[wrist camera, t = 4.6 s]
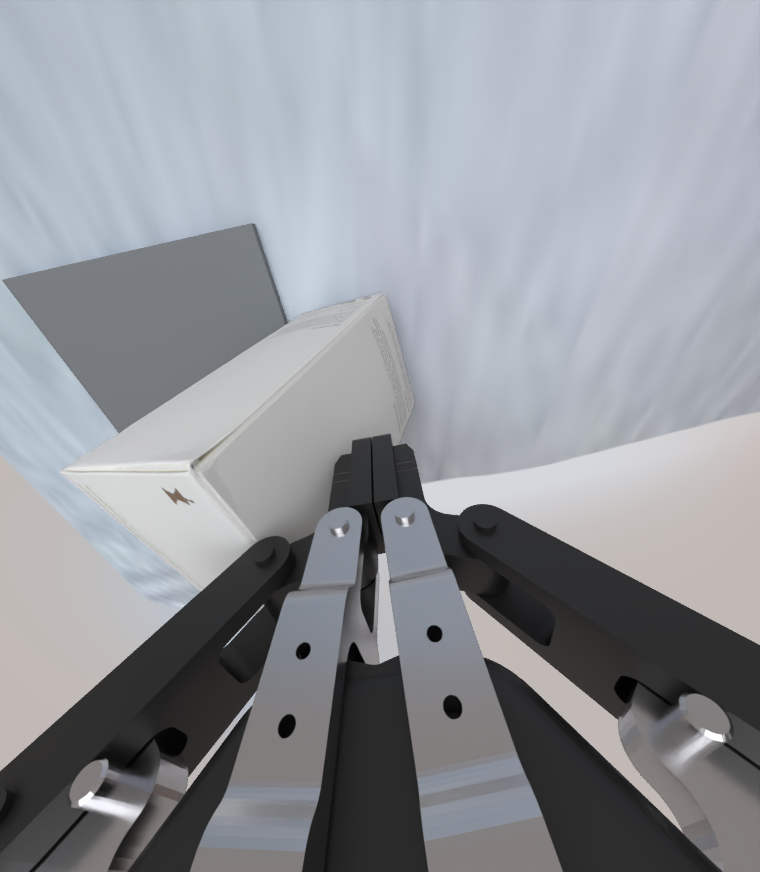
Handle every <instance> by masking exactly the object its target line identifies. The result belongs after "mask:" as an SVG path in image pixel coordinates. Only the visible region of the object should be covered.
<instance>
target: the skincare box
mask: <svg viewBox="0 0 760 872" xmlns="http://www.w3.org/2000/svg"><path fill="white" fill-rule="evenodd" d="M414 404H415V403H414V399H413V395H412V391H411V387H410V383H409V379H408V376H407V372H406V368H405V364H404V360H403V356H402V353H401V349H400V345H399V341H398V337H397V333H396V330H395V326H394V322H393V318H392V314H391V311H390V307H389V304H388V300H387V297H386V295H385V294H384V293H380V294H375V295H371V296H367V297H363V298H359V299H355V300H351V301H347V302H343V303H340V304H336V305H332V306H328V307H325V308H321V309H317V310H314V311H310V312H307V313H303V314H301V315H300V316H298V317H297V318H295V319H294V320H292V321H291V322H289V323H288V324H286V325H285V326H283V327H282V328H280V329H278V330H277V331H275V332H274V333H272V334H271V335H269V336H268V337H266V338H264V339H263V340H261V341H260V342H258V343H257V344H255V345H253V346H252V347H250V348H249V349H247V350H246V351H244V352H243V353H241V354H240V355H238V356H237V357H235V358H233V359H232V360H230V361H229V362H227V363H226V364H224V365H223V366H221V367H220V368H218V369H217V370H215V371H214V372H212V373H210V374H209V375H207V376H206V377H204V378H203V379H201V380H200V381H198V382H197V383H195V384H193V385H192V386H191V387H189V388H187V389H186V390H184V391H183V392H181V393H180V394H178V395H177V396H175V397H174V398H172V399H171V400H169V401H167V402H166V403H164V404H163V405H161V406H160V407H158V408H157V409H155V410H154V411H152V412H150V413H149V414H147V415H146V416H144V417H143V418H141V419H140V420H138V421H136V422H135V423H133V424H132V425H130V426H129V427H127V428H126V429H125V430H123V431H122V432H120V433H119V434H117V435H115V436H114V437H112V438H110V439H109V440H107V441H106V442H104V443H103V444H101V445H100V446H98V447H97V448H95V449H94V450H92V451H90V452H89V453H87V454H86V455H84V456H83V457H81V458H80V459H78V460H77V461H75V462H74V463H72V464H71V465H69V466H68V467H66V468H64V469H63V470H61V471H60V473H61V474H62V475H64V476H65V477H66V478H67V479H68V480H69V481H71V482H72V483H73V484H74V485H75V486H76V487H78V488H79V489H80V490H81V491H82V492H84V493H85V494H86V495H87V496H88V497H89V498H91V499H92V500H93V501H94V502H95V503H97V504H98V505H99V506H100V507H101V508H103V509H104V510H105V511H106V512H107V513H108V514H110V515H111V516H112V517H113V518H114V519H116V520H117V521H118V522H119V523H120V524H122V525H123V526H124V527H125V528H126V529H127V530H129V531H130V532H131V533H132V534H133V535H135V536H136V537H137V538H138V539H139V540H141V541H142V542H143V543H144V544H145V545H147V546H148V547H149V548H150V549H151V550H153V551H154V552H155V553H156V554H157V555H158V556H160V557H161V558H162V559H163V560H164V561H165V562H167V563H168V564H169V565H170V566H171V567H173V568H174V569H175V570H176V571H177V572H178V573H180V574H181V575H182V576H183V577H184V578H185V579H187V580H188V581H189V582H190V583H191V584H192V585H193V586H194V587H196V588H197V589H198V590H199V591H200V592H201V591H202V590H203V589H204V588H205V587H207V586H208V585H209V584H210V583H211V582H212V581H213V580H214V579H216V578H217V577H218V576H219V575H220V574H221V573H222V572H223V571H224V570H226V569H227V568H228V567H229V566H230V565H231V564H232V563H233V562H235V561H236V560H237V559H238V558H239V557H240V556H241V555H242V554H243V553H245V552H246V551H247V550H248V549H249V548H250V547H251V546H252V545H254V544H255V543H257V542H258V541H260V540H262V539H264V538H267V537H270V536H280V537H283V538H285V539H286V540H287V541H288V543H289V544H291V543H293V542H295V541H298V540H300V539H302V538H304V537H307V536H309V535H311V534H312V533H314V532H315V530H316V526H317V524H318V522H319V520H320V519H321V518H322V517H323V516H324V515H325V514H326V513H328V508H329V501H330V494H331V487H332V484H333V483H332V480H333V476H334V474H333V473H334V466H335V463H336V462H337V460H338V459H339V458H340V456H341V455H345V454H350V453H351V451H352V441H353V440H357V439H362V438H368V437H371V438H372V437H373V436H379V435H385V434H391V438H392V443H393V446H396V445H399V443H400V440H401V438H402V435H403V433H404V430H405V427H406V425H407V422H408V420H409V417H410V414H411V412H412V409H413V407H414ZM263 607H264V604H263V605H262V606H261V607H260V608H259V610H258V611H257V612H259V611H260V610H261V609H262V608H263Z"/></svg>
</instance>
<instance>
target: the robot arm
mask: <svg viewBox="0 0 760 872" xmlns="http://www.w3.org/2000/svg"><path fill="white" fill-rule="evenodd" d="M333 474H334V476H333V480H332V483H333V484H332V487H331V494H330V501H329V508H328V513H326V514H325V515H324V516H323V517H322V518H321V519H320V520H319V522H318V524H317V526H316V530H315V532H314V533H312V534H311V535H309V536H307V537H304V538H302V539H300V540H298V541H295V542H293V543H291V544H289V543H288V541H287V540H286V539H285V538H283V537H280V536H270V537H267V538H264V539H262V540H260V541H258V542H257V543H255V544H254V545H252V546H251V547H250V548H249V549H248V550H247V551H246V552H245V553H243V554H242V555H241V556H240V557H239V558H238V559H237V560H236V561H235V562H233V563H232V564H231V565H230V566H229V567H228V568H227V569H226V570H224V571H223V572H222V573H221V574H220V575H219V576H218V577H217V578H216V579H214V580H213V581H212V582H211V583H210V584H209V585H208V586H207V587H205V588H204V589H203V590H202V591H201V592H200V593H199V594H198V595H197V596H195V597H194V598H193V599H192V600H191V601H190V602H189V603H188V604H187V605H185V606H184V607H183V608H182V609H181V610H180V611H179V612H178V613H176V614H175V615H174V616H173V617H172V618H171V619H170V620H169V621H168V622H166V623H165V624H164V625H163V626H162V627H161V628H160V629H159V630H158V631H156V632H155V633H154V634H153V635H152V636H151V637H150V638H149V639H148V640H146V641H145V642H144V643H143V644H142V645H141V646H140V647H139V648H137V649H136V650H135V651H134V652H133V653H132V654H131V655H130V656H128V657H127V658H126V659H125V660H124V661H123V662H122V663H121V664H120V665H119V666H117V667H116V668H115V669H114V670H113V671H112V672H111V673H110V674H108V675H107V676H106V677H105V678H104V679H103V680H102V681H101V682H99V684H98V685H96V686H95V687H94V688H93V689H92V690H91V691H90V692H88V693H87V694H86V695H85V696H84V697H83V698H82V699H81V700H80V701H78V702H77V703H76V704H75V705H74V706H73V707H72V708H70V709H69V710H68V711H67V712H66V713H65V714H64V715H63V716H62V717H61V718H59V719H58V720H57V721H56V722H55V723H54V724H53V725H52V726H51V727H49V728H48V729H47V730H46V731H45V732H44V733H43V734H41V735H40V736H39V737H38V738H37V739H36V740H35V741H34V742H33V743H31V744H30V745H29V746H28V747H27V748H26V749H25V750H24V751H22V752H21V753H20V754H19V755H18V756H17V757H16V758H15V759H14V760H12V761H11V762H10V763H9V764H8V765H7V766H6V767H5V768H4V769H2V770H1V771H0V872H760V645H758V644H756V643H755V642H753V641H751V640H749V639H747V638H745V637H743V636H741V635H739V634H737V633H736V632H733V631H732V630H730V629H728V628H726V627H724V626H722V625H720V624H718V623H716V622H715V621H713V620H711V619H709V618H707V617H705V616H703V615H701V614H699V613H698V612H696V611H694V610H692V609H690V608H688V607H686V606H684V605H682V604H680V603H679V602H677V601H674V600H673V599H671V598H669V597H667V596H665V595H663V594H661V593H660V592H658V591H656V590H654V589H652V588H650V587H648V586H646V585H644V584H642V583H641V582H639V581H637V580H635V579H633V578H631V577H629V576H627V575H625V574H623V573H621V572H620V571H618V570H615V569H614V568H612V567H610V566H608V565H606V564H604V563H603V562H601V561H599V560H597V559H595V558H593V557H591V556H589V555H587V554H585V553H583V552H582V551H580V550H578V549H576V548H574V547H572V546H570V545H568V544H566V543H565V542H563V541H561V540H559V539H557V538H555V537H553V536H551V535H549V534H547V533H546V532H544V531H541V530H540V529H538V528H536V527H534V526H532V525H530V524H528V523H527V522H525V521H523V520H521V519H519V518H517V517H515V516H513V515H511V514H509V513H508V512H506V511H504V510H502V509H500V508H497V507H495V506H492V505H486V504H478V505H473V506H471V507H468V508H466V509H465V510H464V511H463V512H462V513H461V514H460V516H459V515H450V514H443V513H440V512H438V511H435V510H434V509H432V508H431V507H430V506H429V505H428V504H427V503H426V501H425V499H424V495H423V491H422V486H421V482H420V477H419V473H418V469H417V464H416V460H415V456H414V451H413V450H412V449H411V448H410V447H409V446H408V445H407V444H402V445H396V446H393V443H392V438H391V434H385V435H379V436H373V437H372V438H371V437H368V438H362V439H357V440H353V441H352V451H351V453H350V454H345V455H341V456H340V458H339V459H338V460H337V462H336V463H335V466H334V473H333ZM385 549H386V552H385ZM382 553H386V555H387V562H388V569H389V575H390V580H389V588H390V596H391V603H392V609H393V616H394V623H395V630H396V637H397V644H398V651H399V656H397V657H394V658H392V659H390V660H388V661H385V662H383V663H381V664H380V663H379V653H378V645H377V625H378V600H379V572H378V554H382ZM460 590H461V591H465V593H466V595H467V596H468V597H469V598H470V599H471V600H472V601H474V602H475V603H476V604H477V605H478V606H480V607H481V608H482V609H483V610H485V611H486V612H487V613H488V614H490V615H491V616H492V617H493V618H495V619H496V620H497V621H498V622H499V623H500V624H502V625H503V626H504V627H505V628H507V629H508V630H509V631H510V632H511V633H513V634H514V635H515V636H516V637H518V638H519V639H520V640H521V641H522V642H524V643H525V644H526V645H527V646H529V647H530V648H531V649H533V651H535V652H536V653H537V654H538V655H540V656H541V657H542V658H543V659H544V660H546V661H547V662H548V663H550V665H552V666H553V667H554V668H555V669H557V670H558V671H559V672H560V673H562V674H563V675H564V676H565V677H566V678H568V679H569V680H570V681H571V682H572V683H574V684H575V685H576V686H577V687H579V688H580V689H581V690H582V691H584V692H585V693H586V694H587V695H589V696H590V697H591V698H592V699H593V700H595V701H596V702H597V703H598V704H599V705H601V706H602V707H603V708H604V709H605V710H607V711H608V712H609V713H610V714H612V715H613V716H614V717H615V718H617V719H618V729H619V735H620V739H621V742H622V745H623V747H624V750H625V752H626V754H627V756H628V757H629V759H630V761H631V762H632V764H633V765H634V767H635V768H636V770H637V771H638V772H639V773H640V775H641V776H642V777H643V778H644V779H645V780H646V781H647V782H648V783H649V784H650V785H651V787H652V788H653V789H654V790H655V791H656V792H657V793H658V794H659V795H660V796H661V798H662V799H663V800H664V802H665V803H666V804H667V805H668V807H669V808H670V810H671V811H672V813H673V814H674V816H675V818H676V820H677V821H678V823H679V825H680V827H681V829H682V831H683V833H682V832H681V831H680V830H679V829H678V828H677V827H676V826H675V825H674V824H673V823H672V822H671V821H669V819H668V818H666V817H665V816H664V815H663V814H662V813H661V812H660V811H659V810H658V809H657V808H656V807H655V806H654V805H653V804H652V803H651V802H649V800H648V799H647V798H646V797H645V796H643V795H642V794H641V793H640V792H639V791H638V790H637V789H636V788H635V787H634V786H633V785H632V784H631V783H630V782H629V781H628V780H627V779H626V778H625V777H624V776H623V775H622V774H621V773H619V771H617V770H616V769H615V768H614V767H613V766H612V765H611V764H610V763H609V762H608V761H607V760H606V759H605V758H604V757H603V756H602V755H601V754H600V753H599V752H598V751H597V750H596V749H595V748H594V747H593V746H591V745H590V744H589V743H588V742H587V741H586V740H585V739H584V738H583V737H582V736H581V735H580V734H579V733H578V732H577V731H576V730H575V729H574V728H573V727H572V726H571V725H570V724H569V723H568V722H567V721H565V720H564V719H563V718H562V717H561V716H560V715H559V714H558V713H557V712H556V711H555V710H554V709H553V708H552V707H551V706H550V705H549V704H548V703H547V702H546V701H545V700H544V699H543V698H542V697H541V696H539V695H538V694H537V693H536V692H535V691H534V690H533V689H532V688H531V687H530V686H529V685H528V684H527V683H526V682H524V681H523V680H522V679H521V678H519V677H518V676H517V675H516V674H514V673H513V672H511V671H510V670H508V669H507V668H505V667H503V666H502V665H500V664H498V663H496V662H494V661H492V660H489V659H487V658H483V656H482V653H481V650H480V647H479V644H478V641H477V639H476V636H475V633H474V630H473V627H472V624H471V621H470V619H469V616H468V613H467V610H466V607H465V604H464V602H463V599H462V596H461V593H460ZM263 604H264V607H263V608H262V609H261V610H260V611H259V612H258V613H257V614H256V615H255V616H254V617H253V618H252V619H251V621H250V622H249V623H248V624H247V625H246V626H245V627H244V628H243V629H242V630H241V631H240V633H238V635H237V636H236V637H235V638H234V639H233V640H232V641H231V642H230V643H229V644H228V645H227V646H226V647H224V646H225V645H226V644H227V643H228V642H229V641H230V640H231V638H232V637H233V636H234V635H235V634H236V633H237V632H238V631H239V630H240V629H241V628H242V627H243V626H244V625H245V623H246V622H247V621H248V620H249V619H250V618H251V617H252V616H253V615H254V614H255V613H256V612H257V611H258V610H259V608H260V607H261V606H262V605H263ZM256 691H257V693H256V696H255V699H254V702H253V705H252V706H251V707H250V709H248V711H247V712H246V713H245V714H244V715H243V717H242V718H241V719H240V720H239V722H238V723H237V724H236V726H235V727H234V729H233V730H232V731H231V732H230V734H229V735H228V736H227V738H226V739H225V740H224V742H223V743H222V745H221V746H220V747H219V749H218V750H217V751H216V753H215V754H214V755H213V757H212V758H211V759H210V761H209V762H208V763H207V765H206V766H205V767H204V769H203V770H202V771H201V773H200V774H199V776H198V777H197V778H196V780H195V781H194V782H193V784H192V785H191V786H190V788H189V789H188V790H187V792H186V788H187V783H188V777H189V776H190V774H191V773H192V772H193V771H194V769H195V768H196V766H197V765H198V764H199V763H200V762H201V760H202V759H203V758H204V757H205V755H206V754H207V753H208V752H209V750H210V749H211V748H212V746H213V745H214V744H215V743H216V741H217V740H218V739H219V738H220V736H221V735H222V734H223V733H224V731H225V730H226V729H227V727H228V726H229V725H230V724H231V722H232V721H233V720H234V718H235V717H236V716H237V715H238V714H239V712H240V711H241V710H242V708H243V707H244V706H245V705H246V703H247V702H248V701H249V700H250V698H251V697H252V696H253V694H254V693H255V692H256Z"/></svg>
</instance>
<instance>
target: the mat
mask: <svg viewBox="0 0 760 872" xmlns="http://www.w3.org/2000/svg"><path fill="white" fill-rule="evenodd" d="M2 281H3V282H4V284H5V285H6V286H7V287H8V289H9V290H10V291H11V293H12V294H13V295H14V297H15V298H16V299H17V301H18V302H19V303H20V304H21V306H22V307H23V308H24V310H25V311H26V312H27V314H28V315H29V316H30V317H31V319H32V320H33V321H34V323H35V324H36V325H37V327H38V328H39V329H40V331H41V332H42V333H43V334H44V336H45V337H46V338H47V340H48V341H49V342H50V344H51V345H52V346H53V348H54V349H55V350H56V351H57V353H58V354H59V355H60V357H61V358H62V359H63V361H64V362H65V363H66V365H67V366H68V367H69V368H70V370H71V371H72V372H73V374H74V375H75V376H76V378H77V379H78V380H79V381H80V383H81V384H82V385H83V387H84V388H85V389H86V391H87V392H88V393H89V395H90V396H91V397H92V398H93V400H94V401H95V402H96V404H97V405H98V406H99V408H100V409H101V410H102V412H103V413H104V414H105V415H106V417H107V418H108V419H109V421H110V422H111V423H112V425H113V426H114V427H115V428H116V430H117V431H118V432H119V433H120V432H122V431H123V430H125V429H126V428H127V427H129V426H130V425H132V424H133V423H135V422H136V421H138V420H140V419H141V418H143V417H144V416H146V415H147V414H149V413H150V412H152V411H154V410H155V409H157V408H158V407H160V406H161V405H163V404H164V403H166V402H167V401H169V400H171V399H172V398H174V397H175V396H177V395H178V394H180V393H181V392H183V391H184V390H186V389H187V388H189V387H191V386H192V385H193V384H195V383H197V382H198V381H200V380H201V379H203V378H204V377H206V376H207V375H209V374H210V373H212V372H214V371H215V370H217V369H218V368H220V367H221V366H223V365H224V364H226V363H227V362H229V361H230V360H232V359H233V358H235V357H237V356H238V355H240V354H241V353H243V352H244V351H246V350H247V349H249V348H250V347H252V346H253V345H255V344H257V343H258V342H260V341H261V340H263V339H264V338H266V337H268V336H269V335H271V334H272V333H274V332H275V331H277V330H278V329H280V328H282V327H283V326H285V325H286V324H288V323H287V320H286V317H285V314H284V311H283V308H282V305H281V302H280V299H279V296H278V293H277V290H276V287H275V284H274V281H273V278H272V275H271V272H270V269H269V266H268V263H267V260H266V257H265V254H264V251H263V248H262V245H261V242H260V239H259V236H258V233H257V230H256V227H255V224H247V225H242V226H238V227H233V228H229V229H225V230H220V231H216V232H211V233H207V234H203V235H198V236H194V237H189V238H185V239H181V240H176V241H172V242H167V243H163V244H158V245H154V246H150V247H145V248H141V249H136V250H132V251H128V252H123V253H119V254H114V255H110V256H105V257H101V258H97V259H92V260H88V261H83V262H79V263H75V264H70V265H66V266H61V267H57V268H53V269H48V270H44V271H39V272H35V273H30V274H26V275H22V276H17V277H13V278H8V279H4V280H2Z"/></svg>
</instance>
